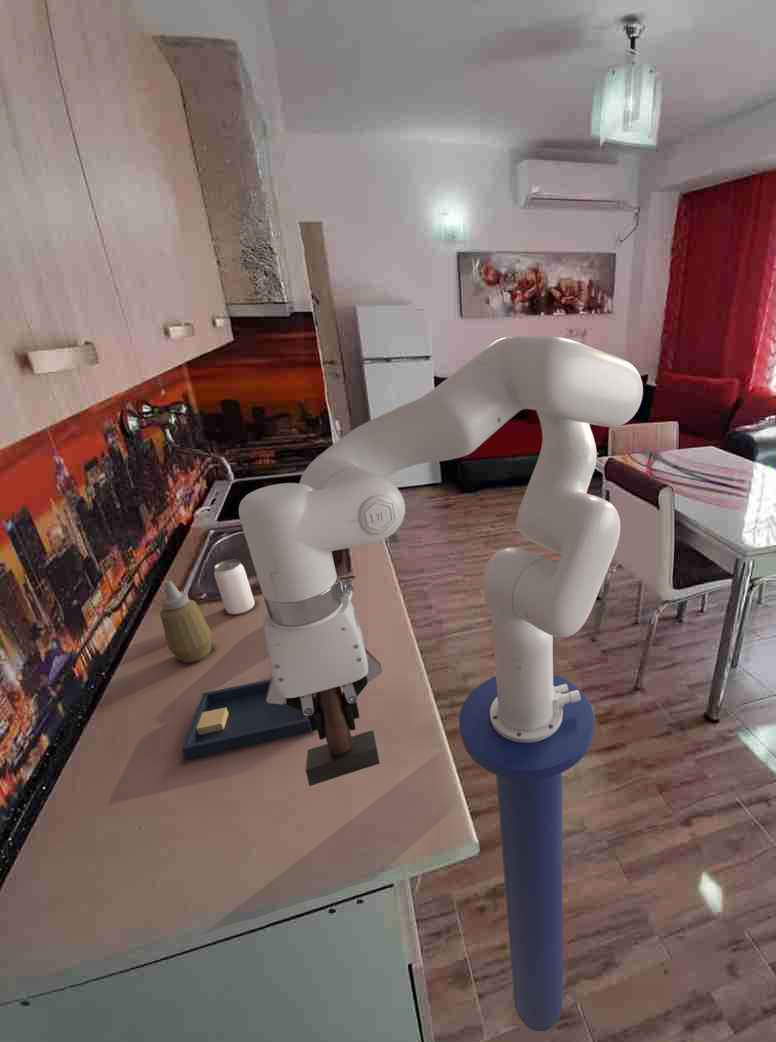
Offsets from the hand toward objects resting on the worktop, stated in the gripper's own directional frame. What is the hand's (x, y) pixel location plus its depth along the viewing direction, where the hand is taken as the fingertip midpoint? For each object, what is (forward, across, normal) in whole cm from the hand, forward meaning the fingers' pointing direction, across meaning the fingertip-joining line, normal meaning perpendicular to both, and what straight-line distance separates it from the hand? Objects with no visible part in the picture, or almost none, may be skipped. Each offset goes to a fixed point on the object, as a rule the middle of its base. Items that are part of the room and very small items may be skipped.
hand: (337, 725), depth 62 cm
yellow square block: (+19, +23, -30) cm, 42 cm away
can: (+19, +22, -71) cm, 77 cm away
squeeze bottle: (+19, +29, -54) cm, 65 cm away
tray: (+19, +16, -29) cm, 38 cm away
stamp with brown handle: (+4, 0, +3) cm, 5 cm away
